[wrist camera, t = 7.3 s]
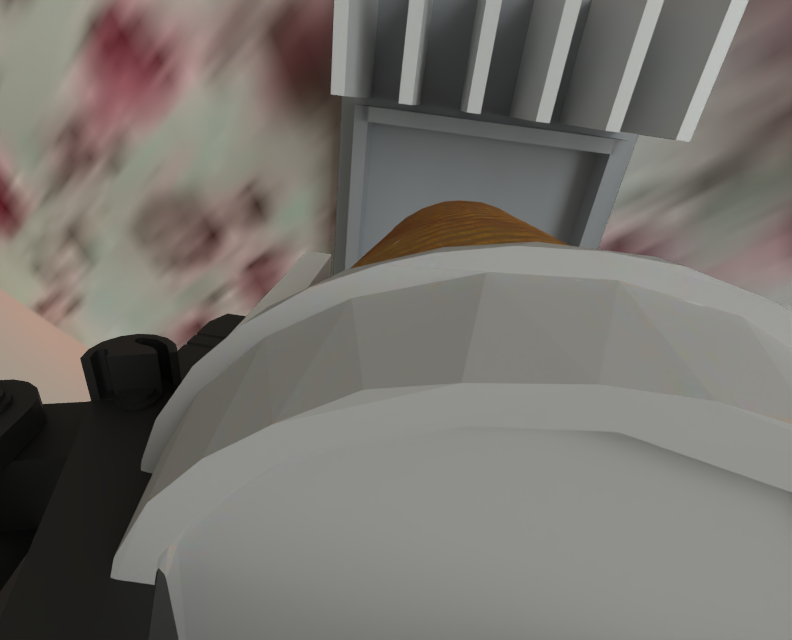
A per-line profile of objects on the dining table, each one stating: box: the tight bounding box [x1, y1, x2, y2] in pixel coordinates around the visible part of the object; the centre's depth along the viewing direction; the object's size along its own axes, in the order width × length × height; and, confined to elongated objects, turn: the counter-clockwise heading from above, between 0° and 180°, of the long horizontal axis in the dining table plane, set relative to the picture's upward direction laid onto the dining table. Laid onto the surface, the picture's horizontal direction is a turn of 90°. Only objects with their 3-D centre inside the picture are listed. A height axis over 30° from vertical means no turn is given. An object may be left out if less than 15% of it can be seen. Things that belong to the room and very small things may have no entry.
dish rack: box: [331, 0, 749, 276], centre depth 24 cm, size 22×18×10 cm
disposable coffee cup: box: [110, 200, 792, 640], centre depth 10 cm, size 10×10×12 cm
